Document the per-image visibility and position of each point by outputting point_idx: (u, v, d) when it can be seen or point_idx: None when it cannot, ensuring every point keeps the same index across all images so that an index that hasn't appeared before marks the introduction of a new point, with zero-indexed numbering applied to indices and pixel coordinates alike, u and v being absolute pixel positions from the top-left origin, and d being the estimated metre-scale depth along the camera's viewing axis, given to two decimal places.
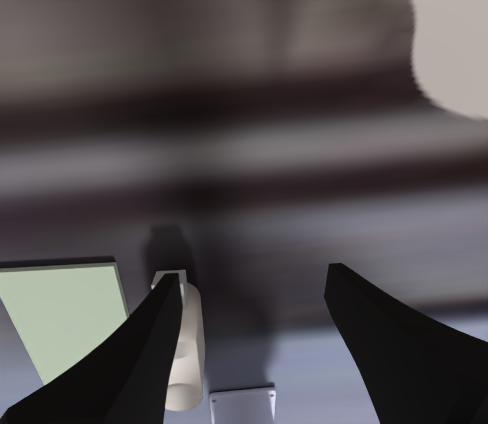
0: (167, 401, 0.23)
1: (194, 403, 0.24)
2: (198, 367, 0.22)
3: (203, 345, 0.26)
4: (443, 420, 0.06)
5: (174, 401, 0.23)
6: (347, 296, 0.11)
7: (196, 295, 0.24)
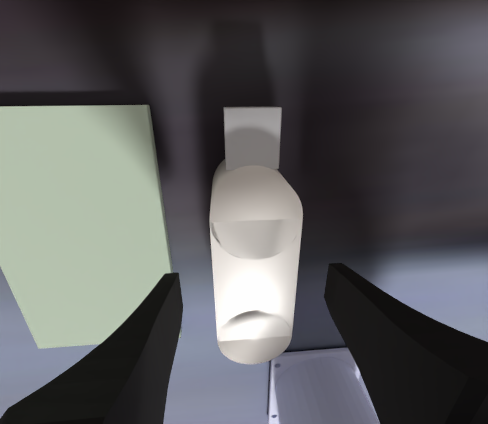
0: (233, 344, 0.14)
1: (276, 349, 0.14)
2: (295, 279, 0.13)
3: None
4: (443, 420, 0.06)
5: (244, 345, 0.14)
6: (347, 296, 0.11)
7: None
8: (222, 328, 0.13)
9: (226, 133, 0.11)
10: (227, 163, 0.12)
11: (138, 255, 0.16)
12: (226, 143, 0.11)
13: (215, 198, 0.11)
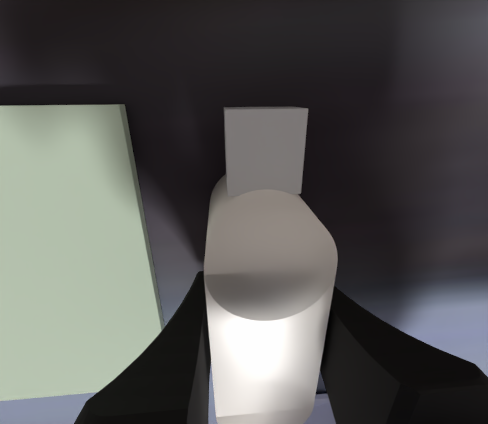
0: (237, 419, 0.11)
1: (293, 423, 0.11)
2: (321, 342, 0.09)
3: None
4: None
5: (251, 419, 0.11)
6: None
7: None
8: (222, 402, 0.10)
9: (228, 145, 0.08)
10: (229, 187, 0.08)
11: (116, 294, 0.13)
12: (228, 159, 0.08)
13: (212, 242, 0.07)
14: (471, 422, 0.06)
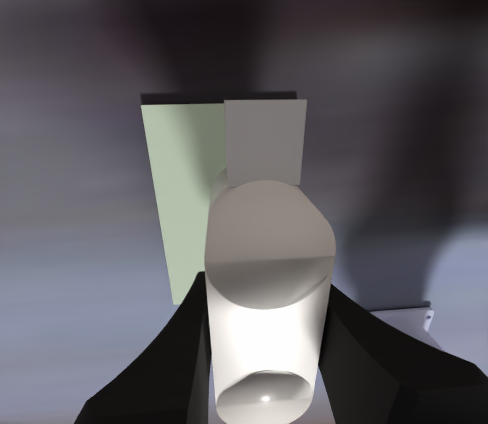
0: (236, 409, 0.11)
1: (292, 413, 0.11)
2: (320, 332, 0.09)
3: None
4: None
5: (251, 410, 0.11)
6: None
7: None
8: (222, 392, 0.10)
9: (228, 136, 0.08)
10: (229, 178, 0.08)
11: None
12: (228, 150, 0.08)
13: (212, 230, 0.07)
14: (471, 422, 0.06)
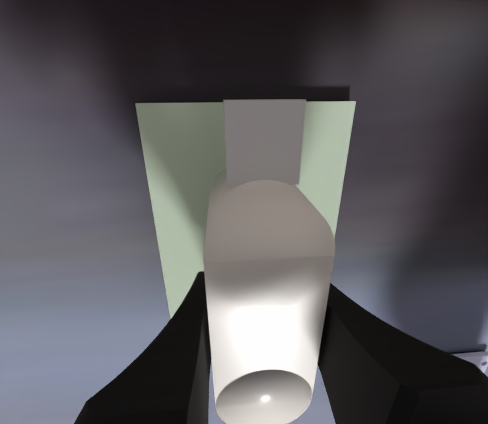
0: (236, 409, 0.11)
1: (292, 413, 0.11)
2: (319, 331, 0.09)
3: None
4: None
5: (250, 409, 0.11)
6: None
7: None
8: (222, 392, 0.10)
9: (227, 136, 0.08)
10: (228, 177, 0.08)
11: None
12: (227, 150, 0.08)
13: (211, 230, 0.07)
14: (471, 422, 0.06)
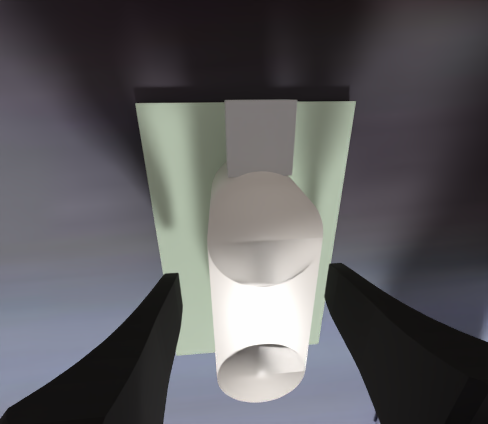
0: (236, 382, 0.12)
1: (287, 386, 0.12)
2: (311, 308, 0.10)
3: None
4: (443, 420, 0.06)
5: (249, 381, 0.12)
6: (347, 296, 0.11)
7: None
8: (223, 364, 0.11)
9: (228, 132, 0.09)
10: (229, 169, 0.09)
11: None
12: (228, 144, 0.09)
13: (214, 214, 0.08)
14: None
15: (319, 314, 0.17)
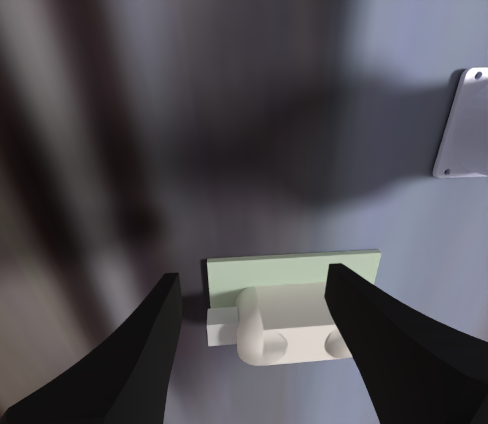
0: None
1: None
2: (305, 326, 0.20)
3: (315, 290, 0.24)
4: (443, 420, 0.06)
5: None
6: (347, 296, 0.11)
7: (247, 294, 0.23)
8: (334, 356, 0.22)
9: (220, 344, 0.22)
10: (235, 343, 0.22)
11: (302, 273, 0.24)
12: (225, 344, 0.22)
13: (249, 362, 0.21)
14: None
15: (351, 256, 0.24)
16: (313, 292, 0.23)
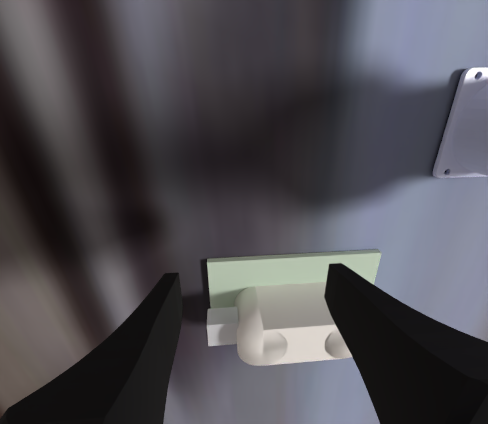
0: None
1: None
2: (305, 326, 0.20)
3: (315, 290, 0.24)
4: (443, 420, 0.06)
5: None
6: (347, 296, 0.11)
7: (247, 294, 0.23)
8: (334, 356, 0.22)
9: (220, 344, 0.22)
10: (235, 343, 0.22)
11: (302, 273, 0.24)
12: (225, 344, 0.22)
13: (249, 363, 0.21)
14: None
15: (351, 256, 0.24)
16: (313, 292, 0.23)
